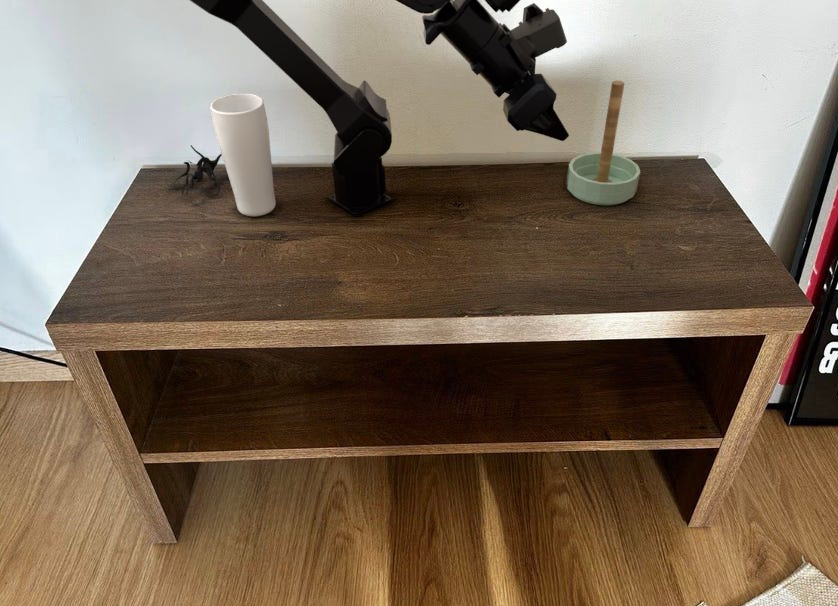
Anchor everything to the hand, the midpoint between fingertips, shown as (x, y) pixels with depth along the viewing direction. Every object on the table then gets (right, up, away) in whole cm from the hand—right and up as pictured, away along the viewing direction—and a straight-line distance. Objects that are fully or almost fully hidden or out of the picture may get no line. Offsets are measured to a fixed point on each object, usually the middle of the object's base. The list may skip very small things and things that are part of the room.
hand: (558, 123), depth 94 cm
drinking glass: (-41, -11, +4) cm, 43 cm away
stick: (+7, -7, +7) cm, 12 cm away
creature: (-51, -7, +9) cm, 52 cm away
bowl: (+7, -7, +7) cm, 13 cm away
